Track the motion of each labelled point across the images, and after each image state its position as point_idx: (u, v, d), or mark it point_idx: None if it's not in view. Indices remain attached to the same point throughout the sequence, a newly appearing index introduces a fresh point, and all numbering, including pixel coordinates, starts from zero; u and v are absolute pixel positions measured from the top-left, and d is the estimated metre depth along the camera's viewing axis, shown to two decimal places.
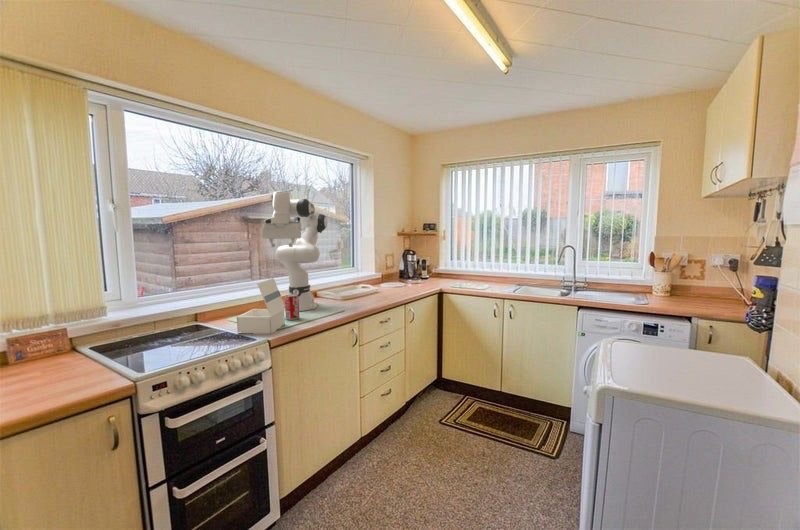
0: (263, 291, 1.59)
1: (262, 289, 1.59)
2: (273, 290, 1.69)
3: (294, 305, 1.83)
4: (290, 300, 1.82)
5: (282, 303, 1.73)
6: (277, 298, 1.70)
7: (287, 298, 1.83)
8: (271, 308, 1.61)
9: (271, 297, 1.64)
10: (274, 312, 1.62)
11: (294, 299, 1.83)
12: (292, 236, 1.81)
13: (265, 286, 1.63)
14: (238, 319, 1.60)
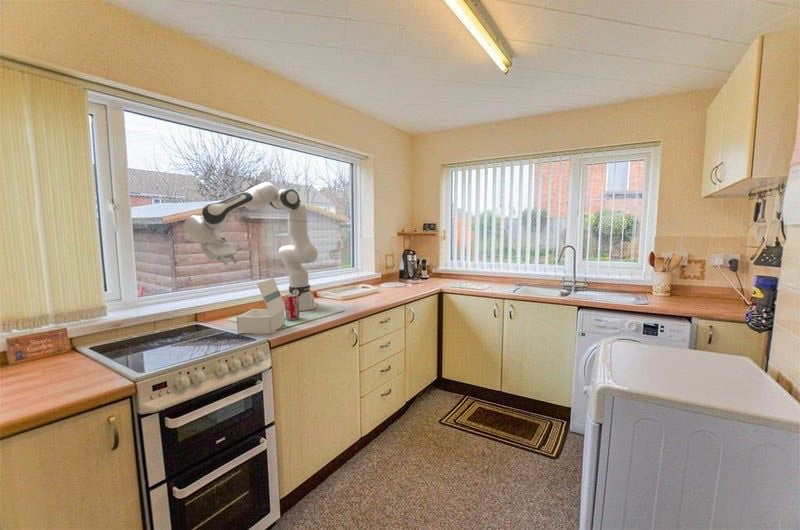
0: (263, 291, 1.59)
1: (262, 289, 1.59)
2: (273, 290, 1.69)
3: (294, 305, 1.83)
4: (290, 300, 1.82)
5: (282, 303, 1.73)
6: (277, 298, 1.70)
7: (287, 298, 1.83)
8: (271, 308, 1.61)
9: (271, 297, 1.64)
10: (274, 312, 1.62)
11: (294, 299, 1.83)
12: None
13: (265, 286, 1.63)
14: (238, 319, 1.60)
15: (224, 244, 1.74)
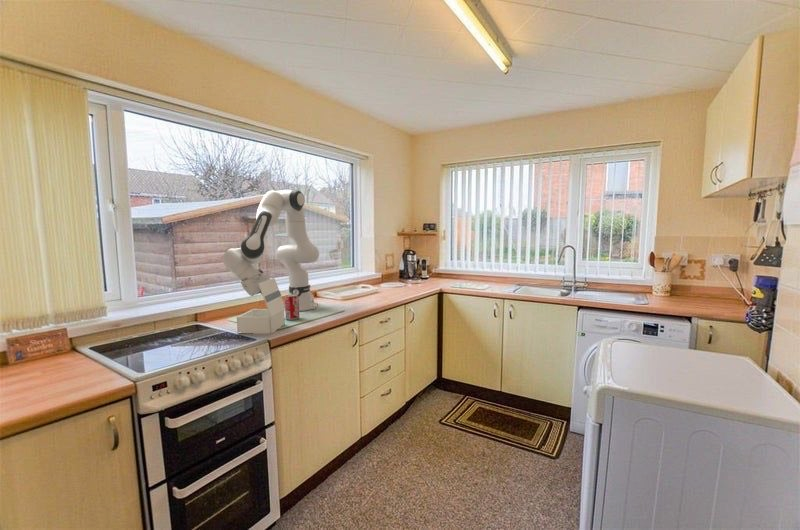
0: (264, 291, 1.59)
1: (263, 289, 1.59)
2: (274, 290, 1.69)
3: (294, 305, 1.83)
4: (290, 300, 1.82)
5: (282, 303, 1.73)
6: (277, 298, 1.70)
7: (287, 298, 1.83)
8: (271, 308, 1.61)
9: (271, 296, 1.64)
10: (274, 312, 1.62)
11: (294, 299, 1.83)
12: None
13: (266, 286, 1.63)
14: (238, 319, 1.60)
15: (261, 277, 1.70)
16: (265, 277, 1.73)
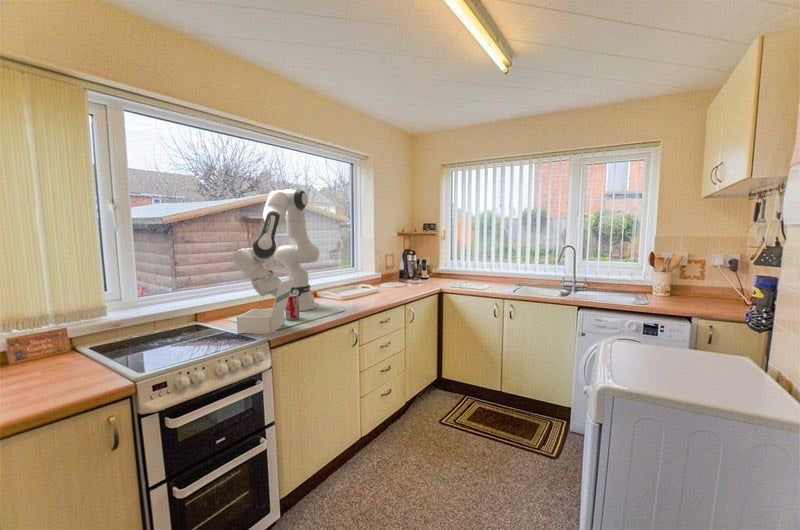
0: (279, 292, 1.59)
1: (279, 289, 1.59)
2: (286, 290, 1.69)
3: (294, 305, 1.83)
4: (290, 300, 1.82)
5: (285, 304, 1.73)
6: (285, 299, 1.70)
7: None
8: (275, 309, 1.61)
9: (281, 297, 1.64)
10: (275, 313, 1.62)
11: (294, 299, 1.83)
12: None
13: (283, 287, 1.62)
14: (238, 319, 1.60)
15: (272, 277, 1.70)
16: (275, 277, 1.73)
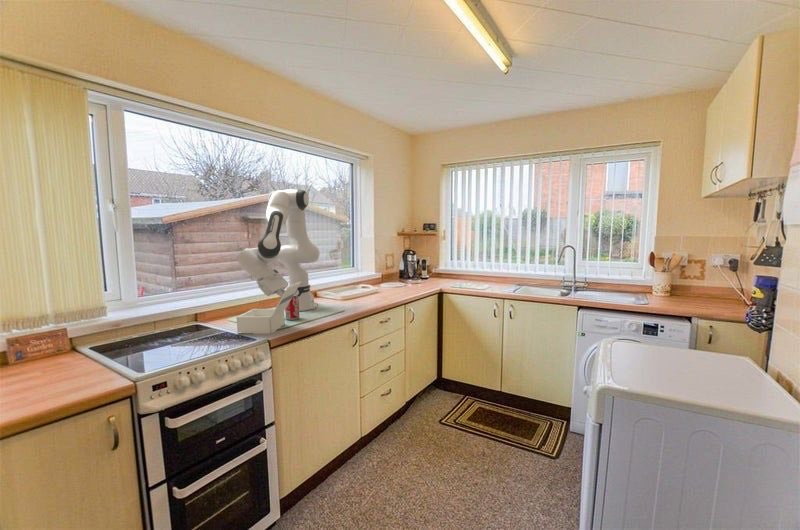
0: (285, 295, 1.59)
1: (286, 293, 1.59)
2: (291, 293, 1.69)
3: (294, 305, 1.83)
4: (290, 300, 1.82)
5: (287, 305, 1.73)
6: (287, 300, 1.70)
7: None
8: (277, 310, 1.61)
9: (285, 299, 1.64)
10: (275, 313, 1.62)
11: (294, 299, 1.83)
12: None
13: (290, 290, 1.62)
14: (238, 319, 1.60)
15: (276, 277, 1.69)
16: (280, 277, 1.73)
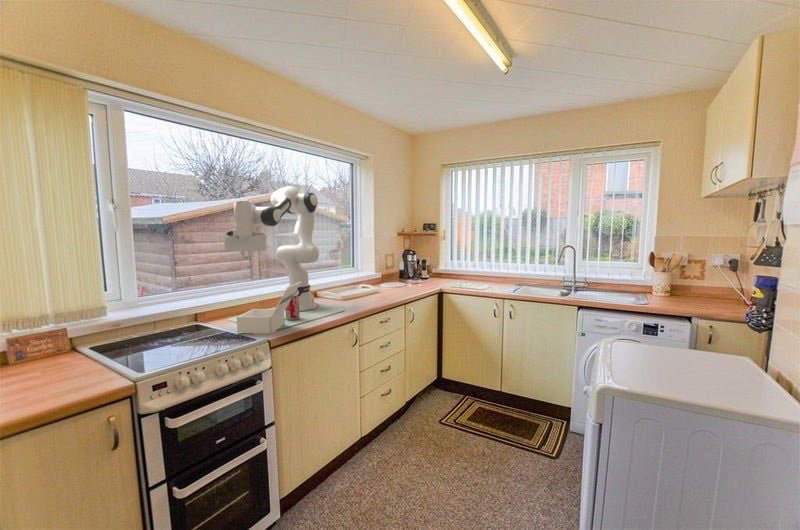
0: (285, 295, 1.59)
1: (286, 293, 1.59)
2: (291, 293, 1.69)
3: (294, 305, 1.83)
4: (290, 300, 1.82)
5: (287, 305, 1.73)
6: (287, 300, 1.70)
7: None
8: (277, 310, 1.61)
9: (285, 299, 1.64)
10: (275, 313, 1.62)
11: (294, 299, 1.83)
12: (256, 249, 1.71)
13: (290, 290, 1.62)
14: (238, 319, 1.60)
15: None
16: None
